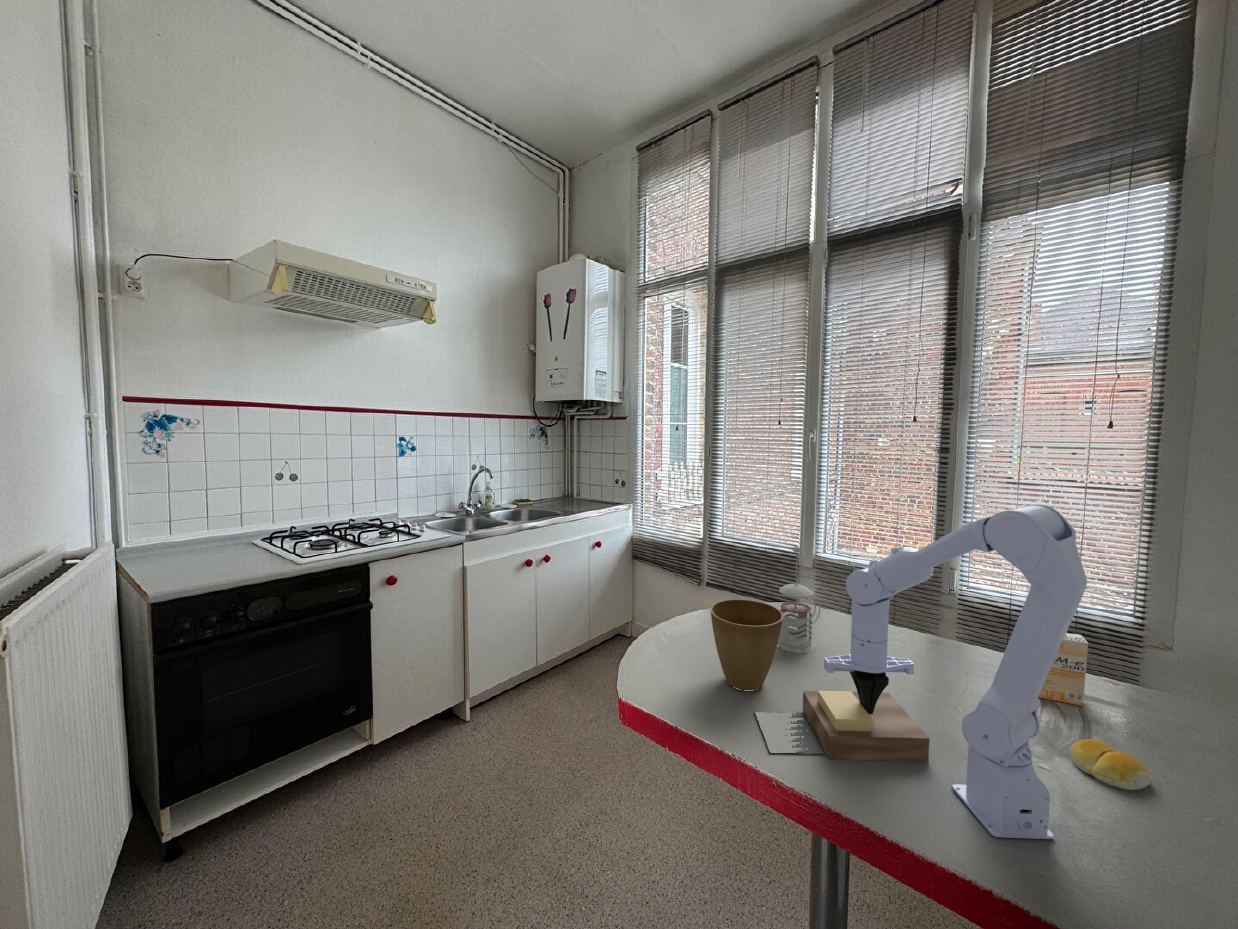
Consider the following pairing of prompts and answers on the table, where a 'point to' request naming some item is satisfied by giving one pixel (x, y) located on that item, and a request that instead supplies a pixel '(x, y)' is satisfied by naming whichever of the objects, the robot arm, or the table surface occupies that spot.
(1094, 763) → the bread roll
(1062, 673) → the supplement box
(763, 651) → the plant pot
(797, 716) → the mat
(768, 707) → the table surface
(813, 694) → the board
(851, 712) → the pale yellow block
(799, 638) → the french press
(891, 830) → the table surface
